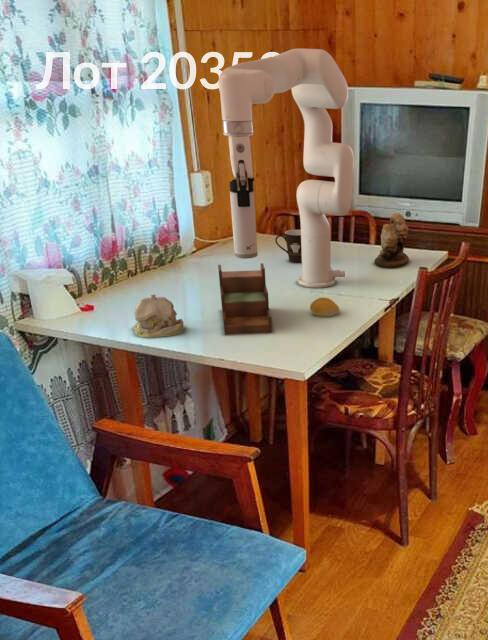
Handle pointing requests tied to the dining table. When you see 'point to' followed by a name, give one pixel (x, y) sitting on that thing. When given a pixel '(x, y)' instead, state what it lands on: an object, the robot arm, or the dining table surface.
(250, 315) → the step rack
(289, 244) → the coffee mug
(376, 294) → the dining table surface
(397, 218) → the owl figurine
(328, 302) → the bread roll
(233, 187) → the travel mug
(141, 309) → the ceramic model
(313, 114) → the robot arm
